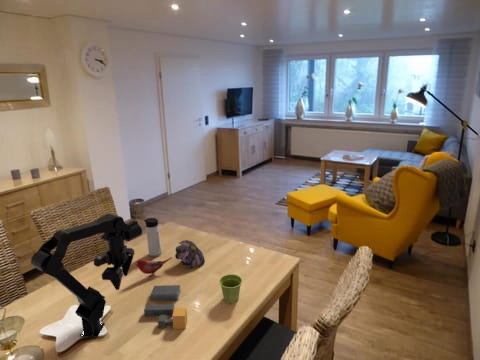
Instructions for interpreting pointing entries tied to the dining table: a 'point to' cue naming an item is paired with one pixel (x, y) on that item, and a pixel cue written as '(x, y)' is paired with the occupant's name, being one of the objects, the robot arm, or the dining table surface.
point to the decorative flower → (189, 254)
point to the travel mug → (153, 237)
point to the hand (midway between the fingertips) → (121, 282)
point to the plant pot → (230, 287)
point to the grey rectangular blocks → (162, 294)
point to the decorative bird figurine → (150, 266)
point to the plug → (174, 319)
